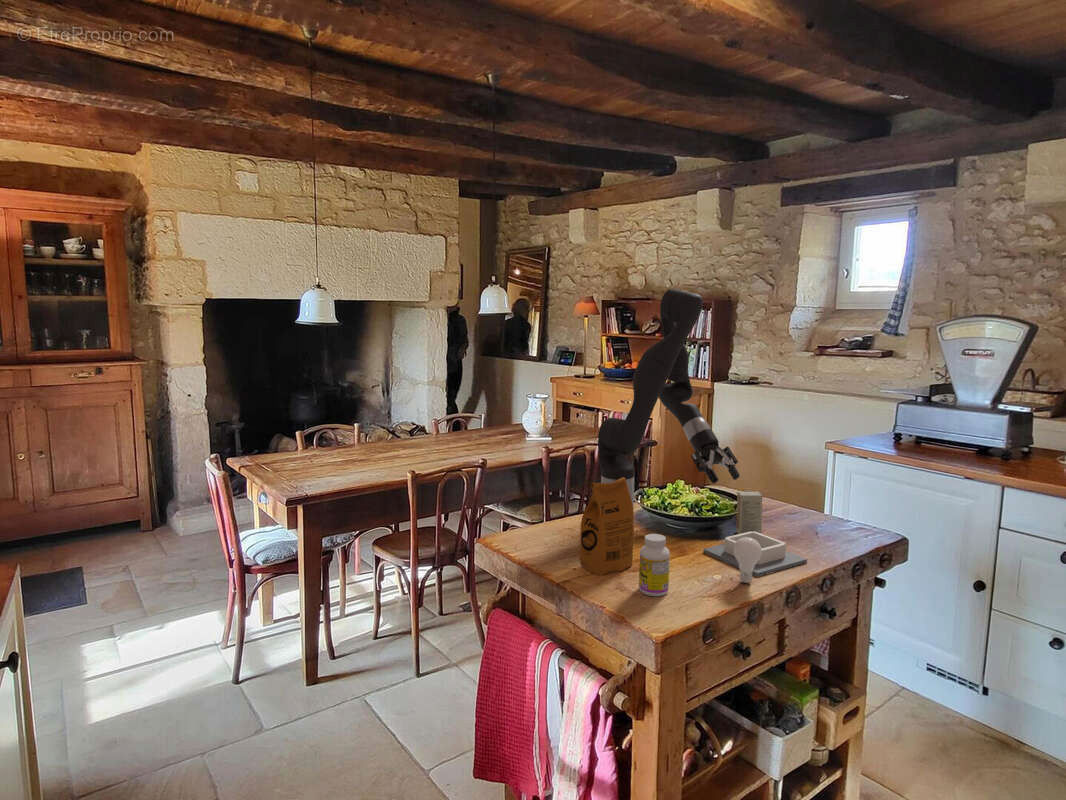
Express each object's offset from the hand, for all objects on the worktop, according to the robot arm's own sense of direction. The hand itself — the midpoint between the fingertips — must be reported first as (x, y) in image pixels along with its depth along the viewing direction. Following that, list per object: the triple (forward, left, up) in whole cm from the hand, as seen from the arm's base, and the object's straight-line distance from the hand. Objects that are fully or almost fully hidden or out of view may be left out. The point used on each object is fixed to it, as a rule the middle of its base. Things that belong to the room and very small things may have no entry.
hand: (726, 480), depth 192 cm
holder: (-12, -22, -14) cm, 29 cm away
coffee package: (-49, -8, -14) cm, 52 cm away
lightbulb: (-26, -32, -14) cm, 44 cm away
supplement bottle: (-48, -25, -14) cm, 56 cm away
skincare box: (0, -9, -14) cm, 17 cm away
